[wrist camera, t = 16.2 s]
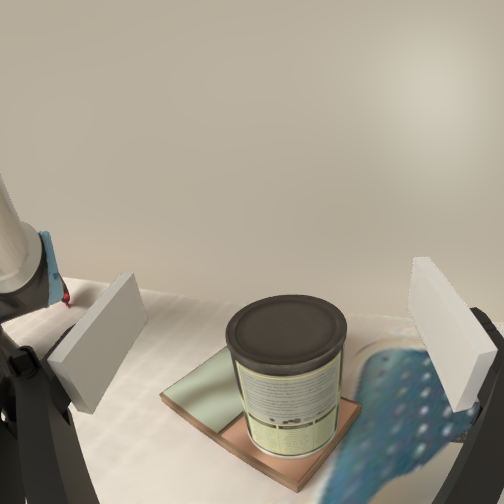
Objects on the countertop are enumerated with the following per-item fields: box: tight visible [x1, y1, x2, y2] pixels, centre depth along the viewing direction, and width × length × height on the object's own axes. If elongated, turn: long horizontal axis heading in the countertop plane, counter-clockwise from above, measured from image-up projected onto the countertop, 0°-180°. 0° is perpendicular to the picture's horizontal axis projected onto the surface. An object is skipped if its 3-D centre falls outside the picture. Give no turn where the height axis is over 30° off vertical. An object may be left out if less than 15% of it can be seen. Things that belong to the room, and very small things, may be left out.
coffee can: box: [225, 295, 347, 459], centre depth 30 cm, size 10×10×14 cm
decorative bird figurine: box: [59, 274, 70, 309], centre depth 63 cm, size 3×18×10 cm, turn 45°
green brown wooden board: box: [159, 346, 362, 493], centre depth 36 cm, size 22×13×2 cm, turn 49°
